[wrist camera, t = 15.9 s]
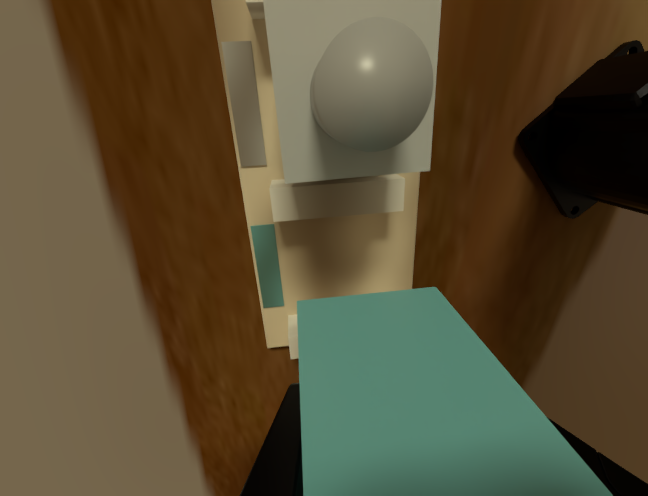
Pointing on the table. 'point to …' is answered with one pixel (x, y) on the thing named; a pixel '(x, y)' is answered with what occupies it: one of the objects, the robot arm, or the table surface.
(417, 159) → the grey plug
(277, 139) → the backplate with mounted blocks
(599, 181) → the robot arm
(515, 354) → the table surface
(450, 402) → the teal plug
